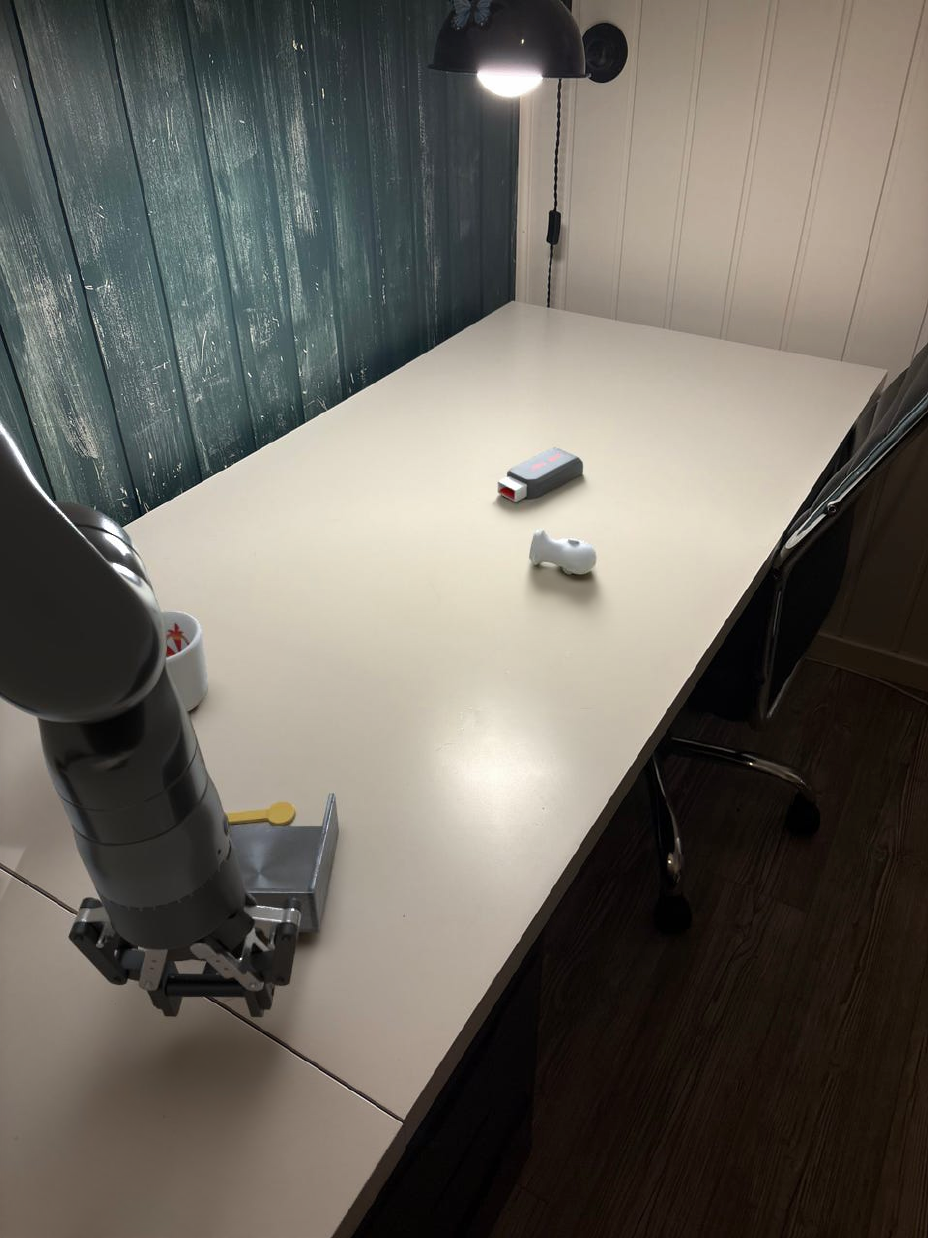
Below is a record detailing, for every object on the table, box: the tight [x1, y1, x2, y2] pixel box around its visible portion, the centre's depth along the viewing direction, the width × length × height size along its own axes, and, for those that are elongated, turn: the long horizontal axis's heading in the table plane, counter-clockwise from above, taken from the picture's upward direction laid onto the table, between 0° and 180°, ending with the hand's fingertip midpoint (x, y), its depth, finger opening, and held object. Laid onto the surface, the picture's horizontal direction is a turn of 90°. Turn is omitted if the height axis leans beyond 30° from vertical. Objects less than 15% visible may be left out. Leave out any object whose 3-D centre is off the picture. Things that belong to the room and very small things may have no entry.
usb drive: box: [497, 447, 584, 503], centre depth 121 cm, size 5×12×3 cm, turn 133°
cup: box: [161, 609, 209, 713], centre depth 88 cm, size 11×8×8 cm
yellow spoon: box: [225, 801, 296, 826], centre depth 78 cm, size 6×2×1 cm, turn 96°
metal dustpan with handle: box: [166, 792, 340, 998], centre depth 68 cm, size 11×20×5 cm, turn 179°
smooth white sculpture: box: [528, 528, 597, 575], centre depth 106 cm, size 4×8×5 cm
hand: (218, 1003), depth 61 cm, fingers closed on metal dustpan with handle, 5 cm apart
